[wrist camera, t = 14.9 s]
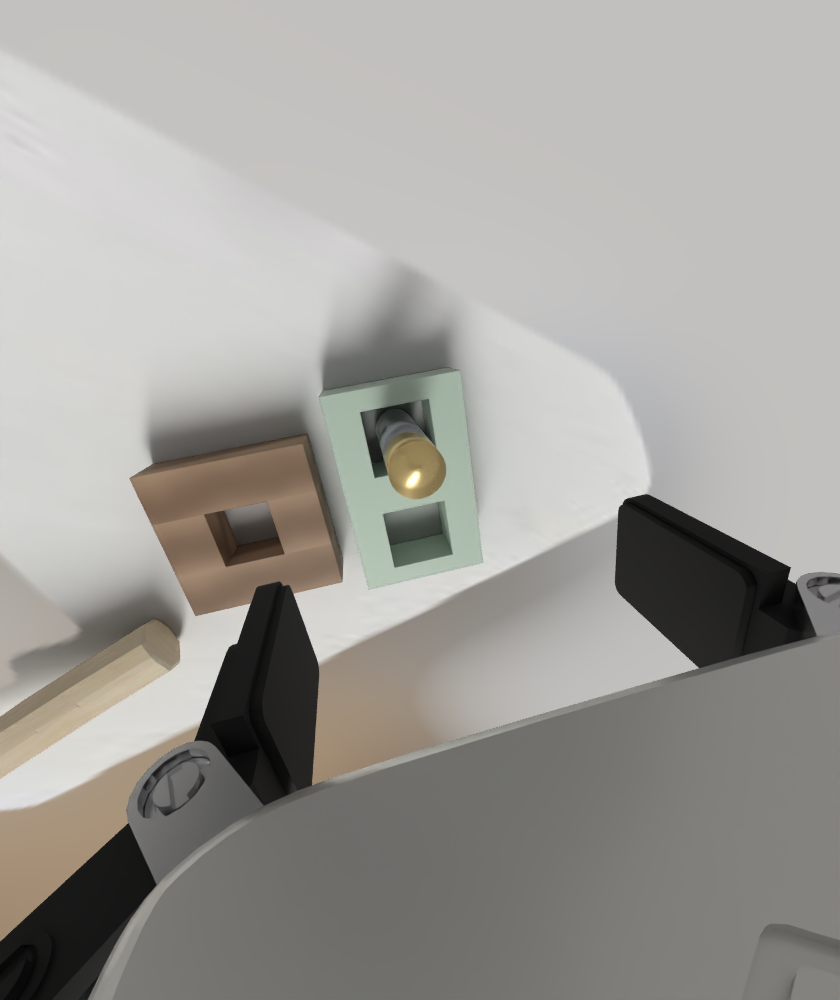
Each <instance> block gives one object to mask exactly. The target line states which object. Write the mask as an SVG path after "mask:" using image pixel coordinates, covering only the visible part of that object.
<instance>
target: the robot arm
mask: <svg viewBox="0 0 840 1000" xmlns="http://www.w3.org/2000/svg"><path fill="white" fill-rule="evenodd" d="M790 568H791V567H789V566H787V565H785V564H783V563H781V562H779V561H777V560H775V559H773V558H771V557H769V556H767V555H765V554H763V553H761V552H759V551H757V550H756V549H754V548H752V547H750V546H748V545H746V544H744V543H742V542H740V541H738V540H736V539H734V538H732V537H730V536H728V535H726V534H724V533H722V532H720V531H719V530H717V529H715V528H712V527H711V526H709V525H707V524H705V523H703V522H701V521H699V520H697V519H695V518H693V517H691V516H689V515H687V514H685V513H683V512H682V511H680V510H678V509H676V508H674V507H672V506H670V505H668V504H666V503H664V502H662V501H660V500H658V499H656V498H654V497H652V496H650V495H647V494H645V495H640V496H636V497H632V498H628V499H626V500H624V502H623V505H621V506H620V507H619V511H618V530H617V550H616V572H615V586H616V589H617V591H618V593H619V594H620V595H621V596H622V597H623V598H624V599H625V600H626V601H627V602H629V603H630V604H631V605H632V606H633V607H634V608H635V609H636V610H637V611H638V612H639V613H640V614H642V615H643V616H644V617H645V618H646V619H647V620H648V621H649V622H650V623H651V624H652V625H653V626H654V627H656V628H657V629H658V630H659V631H660V632H661V633H662V634H663V635H664V636H665V637H666V638H667V639H669V641H671V642H672V643H673V644H674V645H675V646H676V647H677V648H678V649H679V650H680V651H681V652H682V653H683V654H685V655H686V656H687V657H688V658H689V659H690V660H691V661H692V662H693V663H694V664H695V665H696V666H698V667H699V669H696V670H692V671H688V672H685V673H681V674H678V675H675V676H671V677H667V678H664V679H660V680H657V681H653V682H650V683H646V684H643V685H640V686H636V687H633V688H630V689H626V690H623V691H619V692H615V693H612V694H609V695H605V696H602V697H598V698H595V699H592V700H588V701H584V702H581V703H578V704H574V705H571V706H568V707H564V708H561V709H557V710H554V711H550V712H547V713H544V714H540V715H537V716H533V717H530V718H526V719H523V720H520V721H516V722H513V723H509V724H506V725H503V726H499V727H496V728H493V729H490V730H486V731H483V732H480V733H476V734H473V735H469V736H466V737H463V738H459V739H456V740H453V741H449V742H446V743H442V744H439V745H436V746H432V747H429V748H426V749H422V750H419V751H416V752H412V753H409V754H406V755H403V756H400V757H396V758H394V759H390V760H387V761H384V762H381V763H377V764H374V765H371V766H368V767H365V768H362V769H359V770H355V771H352V772H349V773H346V774H343V775H340V776H336V777H334V778H331V779H328V780H326V781H323V782H320V783H318V784H315V785H312V775H313V759H314V743H315V727H316V713H317V698H318V683H319V667H318V662H317V658H316V656H315V653H314V650H313V647H312V645H311V642H310V639H309V636H308V633H307V631H306V628H305V625H304V622H303V620H302V617H301V614H300V611H299V608H298V606H297V603H296V600H295V597H294V594H293V592H292V589H291V587H290V585H285V586H283V584H282V583H281V582H280V581H278V582H274V583H270V584H266V585H261V586H258V587H257V588H256V590H255V593H254V596H253V599H252V602H251V605H250V608H249V611H248V613H247V616H246V619H245V622H244V625H243V628H242V631H241V634H240V637H239V640H238V643H237V644H234V645H232V646H230V647H229V649H228V651H227V653H226V655H225V658H224V661H223V664H222V666H221V669H220V672H219V675H218V677H217V680H216V683H215V686H214V688H213V691H212V694H211V697H210V699H209V702H208V705H207V708H206V710H205V713H204V716H203V719H202V721H201V724H200V727H199V730H198V733H197V735H196V738H195V741H194V742H189V743H186V744H183V745H181V746H179V747H177V748H175V749H173V750H171V751H170V752H168V753H167V754H165V755H164V756H162V757H161V758H160V759H158V761H156V762H155V763H154V764H153V765H152V766H151V767H150V768H149V769H148V770H147V771H146V772H145V773H144V775H143V776H142V777H141V778H140V780H139V781H138V782H137V784H136V786H135V788H134V790H133V791H132V793H131V795H130V797H129V801H128V805H127V810H126V812H127V818H128V822H129V823H128V824H127V825H126V826H125V827H124V828H123V829H122V830H120V831H119V832H118V833H117V834H116V835H115V836H114V837H113V838H112V839H111V840H110V841H108V843H106V844H105V845H104V846H103V847H102V848H101V849H100V850H99V851H98V852H97V853H96V854H94V855H93V856H92V857H91V858H90V859H89V860H88V861H87V862H86V863H85V864H84V865H83V866H81V868H79V869H78V870H77V871H76V872H75V873H74V874H73V875H72V876H71V877H70V878H68V879H67V880H66V881H65V882H64V883H63V884H62V885H61V886H60V887H59V888H58V889H57V890H56V891H55V892H53V893H52V894H51V895H50V896H49V897H48V898H47V899H46V900H45V901H44V902H43V903H41V904H40V905H39V906H38V907H37V908H36V909H35V910H34V911H33V912H32V913H31V914H30V915H29V916H27V917H26V918H25V919H24V920H23V921H22V922H21V923H20V924H19V925H18V926H17V927H16V928H14V929H13V930H12V931H11V932H10V933H9V934H8V935H7V936H6V937H5V938H4V939H3V940H2V941H0V1000H840V574H836V573H826V572H817V573H808V574H805V575H803V576H801V577H800V578H799V579H798V580H797V582H796V584H795V583H793V582H791V581H789V580H788V576H789V572H790Z"/></svg>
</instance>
